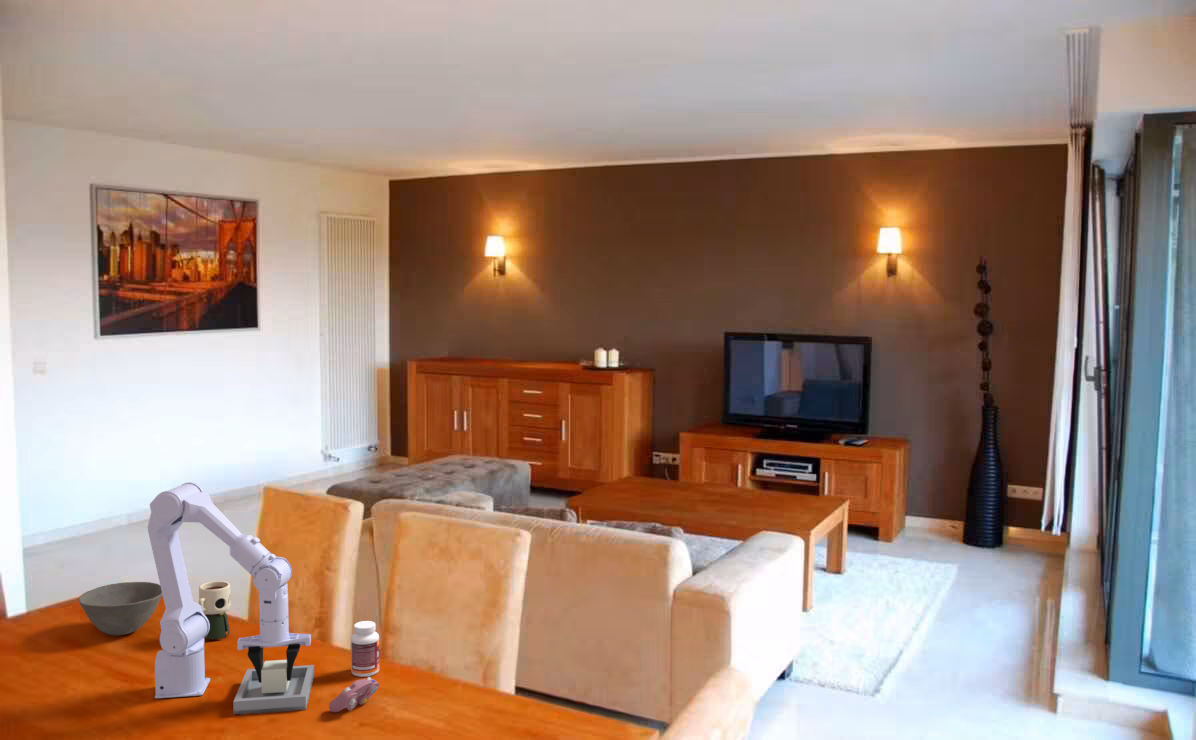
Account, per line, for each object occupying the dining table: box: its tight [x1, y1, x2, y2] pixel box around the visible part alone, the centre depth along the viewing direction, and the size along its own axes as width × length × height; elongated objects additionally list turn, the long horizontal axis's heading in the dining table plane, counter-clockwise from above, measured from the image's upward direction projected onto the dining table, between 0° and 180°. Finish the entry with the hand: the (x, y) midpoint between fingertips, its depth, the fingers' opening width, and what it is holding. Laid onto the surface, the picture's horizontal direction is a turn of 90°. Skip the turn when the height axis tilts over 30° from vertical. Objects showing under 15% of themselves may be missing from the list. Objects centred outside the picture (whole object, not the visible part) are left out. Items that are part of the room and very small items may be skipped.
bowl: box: [78, 581, 163, 637], centre depth 232 cm, size 19×19×10 cm
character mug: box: [198, 580, 232, 640], centre depth 229 cm, size 11×7×13 cm, turn 164°
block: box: [261, 659, 290, 693], centre depth 198 cm, size 5×5×5 cm
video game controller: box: [328, 676, 380, 713], centre depth 193 cm, size 10×5×7 cm, turn 149°
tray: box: [233, 664, 315, 716], centre depth 198 cm, size 14×16×3 cm
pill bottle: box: [350, 620, 380, 678], centre depth 210 cm, size 6×6×11 cm
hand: (275, 679), depth 198 cm, fingers closed on block, 5 cm apart
